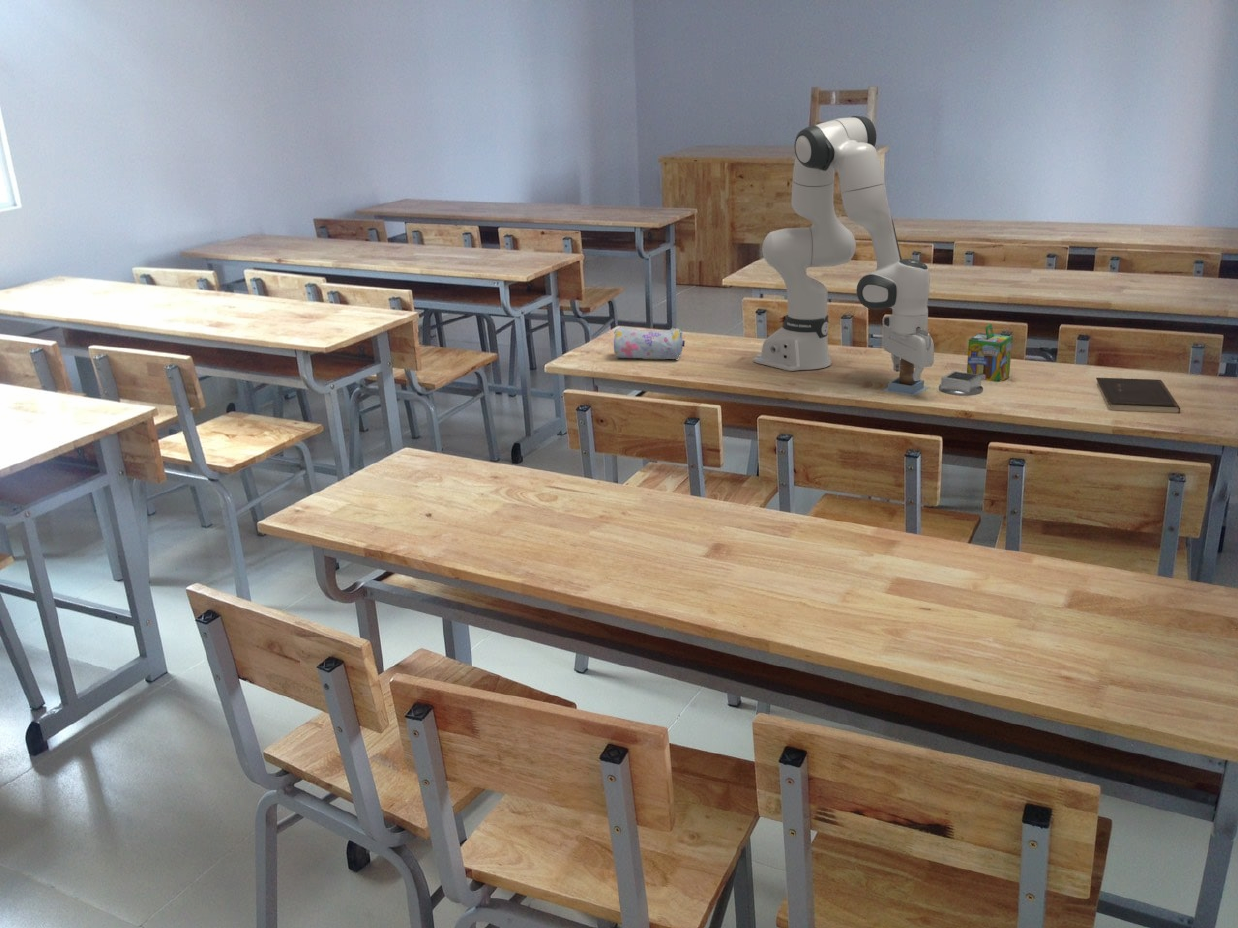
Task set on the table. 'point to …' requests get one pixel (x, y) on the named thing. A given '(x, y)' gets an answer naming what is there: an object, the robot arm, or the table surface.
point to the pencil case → (648, 343)
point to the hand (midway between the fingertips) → (906, 375)
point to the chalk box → (990, 355)
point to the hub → (961, 384)
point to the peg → (906, 372)
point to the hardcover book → (1137, 395)
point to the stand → (906, 387)
